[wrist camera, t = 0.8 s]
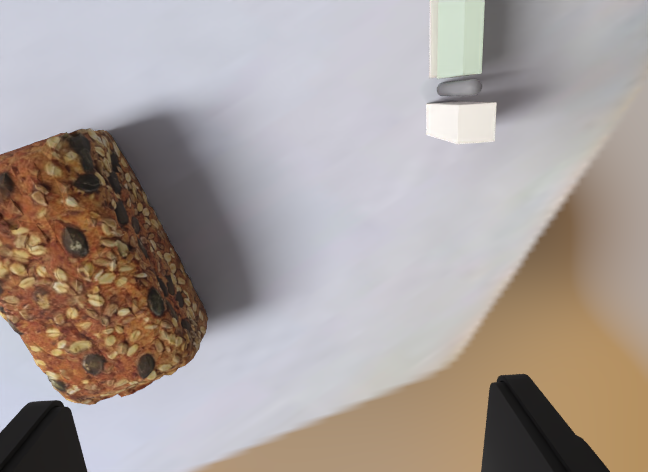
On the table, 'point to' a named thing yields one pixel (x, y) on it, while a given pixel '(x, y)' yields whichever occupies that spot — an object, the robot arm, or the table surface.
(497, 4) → the table surface
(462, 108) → the door frame
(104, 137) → the bread
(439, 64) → the door
